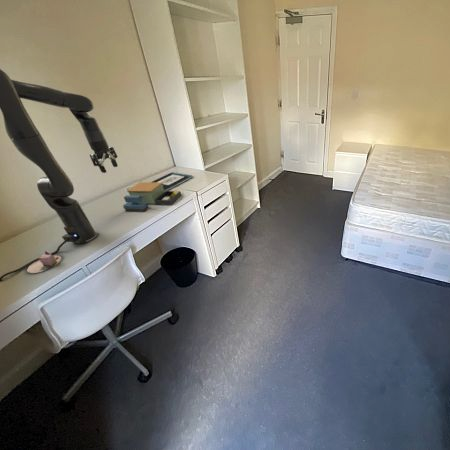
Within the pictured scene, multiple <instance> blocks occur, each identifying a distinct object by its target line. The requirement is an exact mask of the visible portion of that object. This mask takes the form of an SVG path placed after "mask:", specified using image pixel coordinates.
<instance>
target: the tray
mask: <svg viewBox="0 0 450 450" xmlns="http://www.w3.org/2000/svg"><path fill="white" fill-rule="evenodd" d="M174 191H175V190H168V191H165V192H164V193H163V194H162V195H160V196H159V197H158V198H157V199H155V200H154V201H155V203H156V204H155V205H156V206H157V205H158V206H159V205H160V206H172V205H173V204H174V203H175V202H176V201H177V200H179V199H180V198H181V197H182V193H181V191H180V190H177V191H178V193H177V194H176V195H175V196H174V197H171V195H172V193H173V192H174ZM164 197H170V198H171V199H170V200H162V199H163V198H164Z"/></svg>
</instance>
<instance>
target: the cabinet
mask: <svg viewBox="0 0 450 450" xmlns="http://www.w3.org/2000/svg"><path fill="white" fill-rule="evenodd" d="M162 184H163V183H160V182H152V181H146V182H145V181H144V182H143V181H140V182H139V181H138V182H137V183H136V184H135V185H134V186H133V185H132V187H130V188H129V189H127V190H126V192H127V193H128V195H133V196H141V199H142V201H141V202H147V203H148V205H156V203H155V201H154V200H155V199H157V198H158V197H159V196H160V195H162V194H163V193H164V192H165V191H164V189H163V186H162Z"/></svg>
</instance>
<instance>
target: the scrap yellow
mask: <svg viewBox="0 0 450 450" xmlns="http://www.w3.org/2000/svg"><path fill="white" fill-rule="evenodd" d="M173 191H174V192H173V193H172V195H171V197H174V196H175V195H176V194H177V193H178V191H179V190H177V189H176V190H173Z"/></svg>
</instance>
